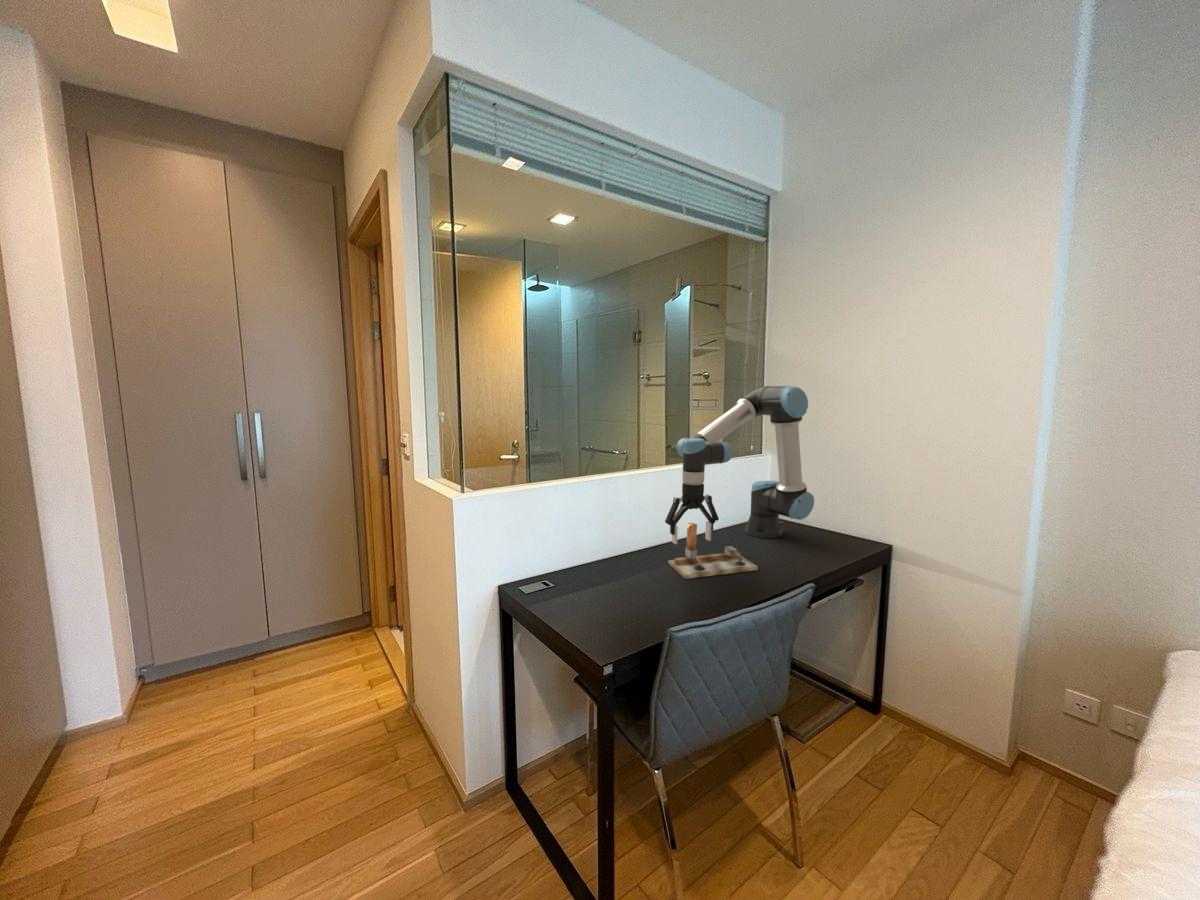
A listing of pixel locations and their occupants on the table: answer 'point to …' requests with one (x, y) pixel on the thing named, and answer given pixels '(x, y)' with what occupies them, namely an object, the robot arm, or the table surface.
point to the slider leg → (692, 542)
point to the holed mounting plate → (713, 564)
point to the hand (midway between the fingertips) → (691, 541)
